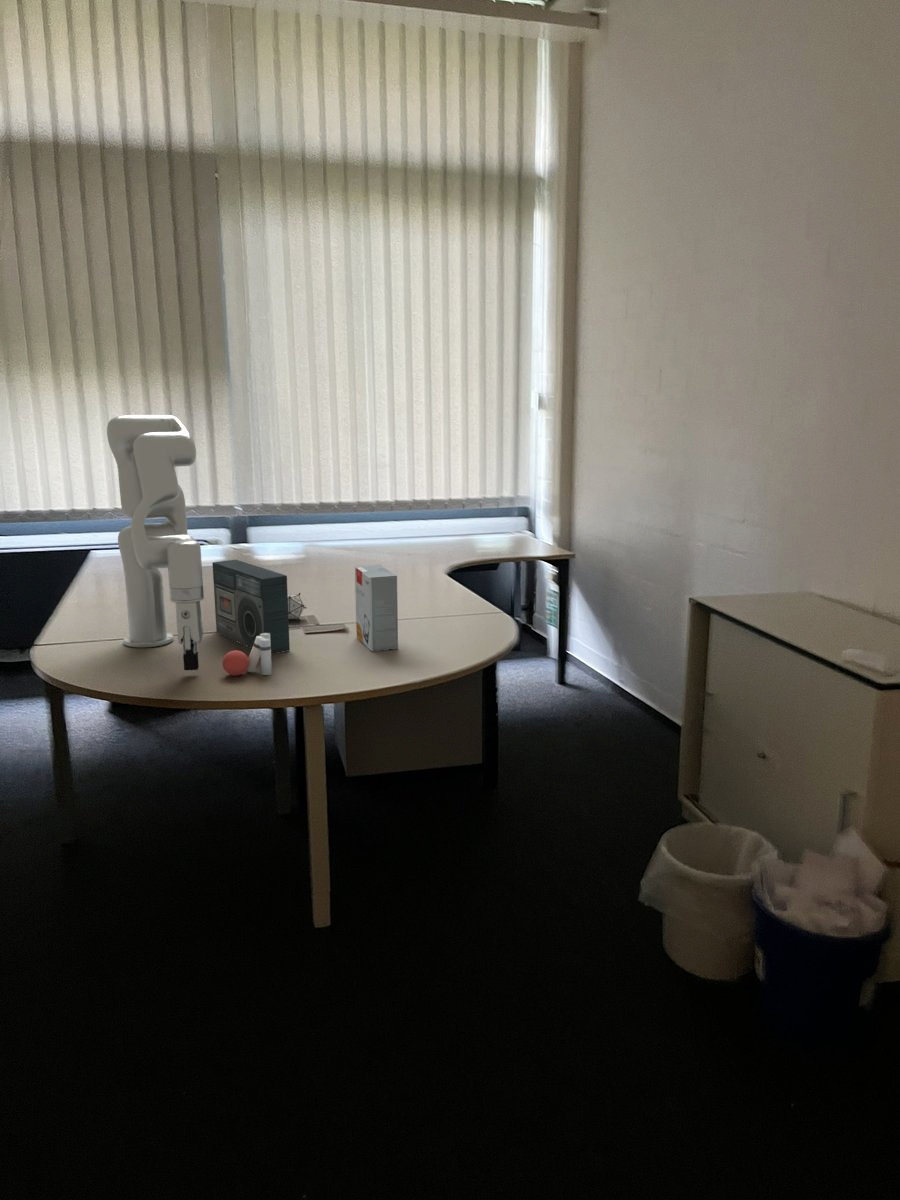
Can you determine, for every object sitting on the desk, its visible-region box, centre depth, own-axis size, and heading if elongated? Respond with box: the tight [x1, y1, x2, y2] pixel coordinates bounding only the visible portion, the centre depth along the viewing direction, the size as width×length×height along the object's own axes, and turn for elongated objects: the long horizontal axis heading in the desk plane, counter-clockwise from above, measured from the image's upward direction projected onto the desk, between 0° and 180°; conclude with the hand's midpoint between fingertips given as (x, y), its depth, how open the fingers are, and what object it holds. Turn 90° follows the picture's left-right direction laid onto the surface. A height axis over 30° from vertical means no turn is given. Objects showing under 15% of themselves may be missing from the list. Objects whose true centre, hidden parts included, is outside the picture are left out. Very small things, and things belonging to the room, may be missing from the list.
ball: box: [222, 649, 249, 677], centre depth 210 cm, size 6×6×6 cm
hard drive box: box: [354, 564, 399, 652], centre depth 236 cm, size 16×8×20 cm, turn 21°
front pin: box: [245, 636, 264, 673], centre depth 212 cm, size 2×2×8 cm
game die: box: [288, 592, 307, 622], centre depth 262 cm, size 9×8×10 cm
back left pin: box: [260, 633, 273, 669], centre depth 215 cm, size 2×2×8 cm
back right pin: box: [260, 638, 273, 676], centre depth 211 cm, size 2×2×8 cm
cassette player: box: [211, 559, 291, 655], centre depth 238 cm, size 29×7×20 cm, turn 39°
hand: (191, 669), depth 210 cm, fingers closed
